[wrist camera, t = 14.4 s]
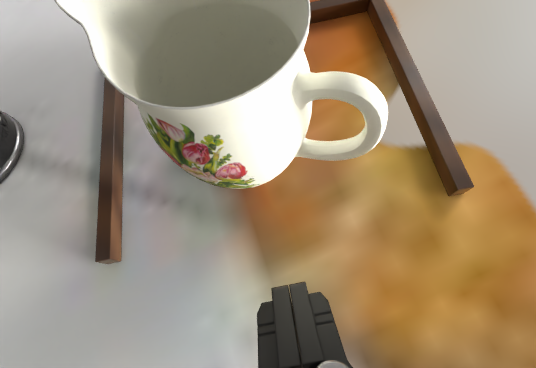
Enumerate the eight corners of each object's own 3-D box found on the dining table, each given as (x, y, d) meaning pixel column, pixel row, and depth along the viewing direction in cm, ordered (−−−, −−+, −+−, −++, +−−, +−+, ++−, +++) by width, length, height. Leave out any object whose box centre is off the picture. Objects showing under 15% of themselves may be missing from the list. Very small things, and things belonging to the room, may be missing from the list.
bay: (463, 193, 22) (474, 186, 21) (107, 264, 23) (94, 262, 22) (374, 1, 31) (378, -13, 29) (114, 58, 32) (105, 47, 30)
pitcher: (342, 243, 22) (402, 170, 9) (142, 179, 26) (-12, 65, 13) (373, 124, 25) (448, -50, 13) (192, 83, 29) (110, -83, 16)
